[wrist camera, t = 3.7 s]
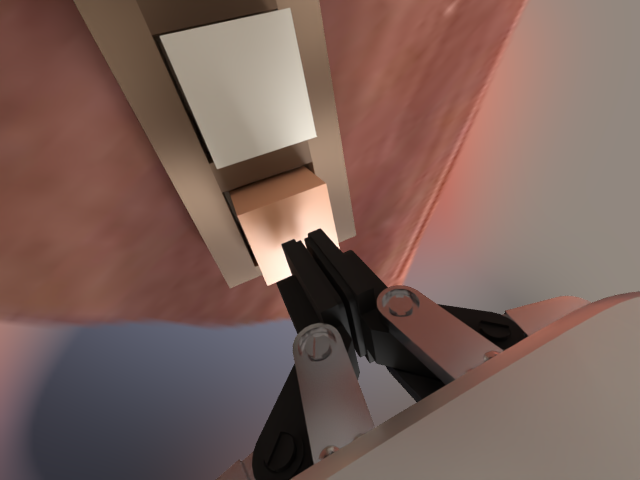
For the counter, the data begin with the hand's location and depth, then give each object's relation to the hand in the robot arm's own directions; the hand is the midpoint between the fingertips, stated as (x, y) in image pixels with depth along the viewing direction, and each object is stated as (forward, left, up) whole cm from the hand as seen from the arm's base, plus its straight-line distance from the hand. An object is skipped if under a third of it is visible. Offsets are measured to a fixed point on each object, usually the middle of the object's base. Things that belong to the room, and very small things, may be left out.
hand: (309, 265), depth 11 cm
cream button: (+1, -6, -5) cm, 8 cm away
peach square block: (0, 0, -5) cm, 5 cm away
